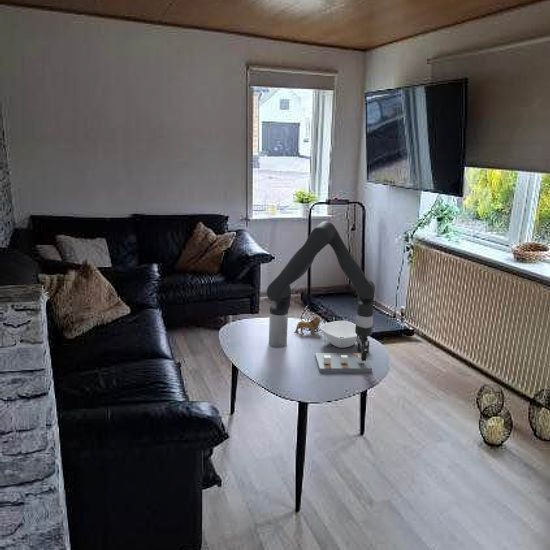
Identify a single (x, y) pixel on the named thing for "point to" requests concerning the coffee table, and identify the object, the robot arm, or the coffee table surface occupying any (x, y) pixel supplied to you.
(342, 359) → the switch
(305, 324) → the lion figurine
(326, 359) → the switch
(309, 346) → the coffee table surface
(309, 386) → the coffee table surface
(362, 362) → the switch
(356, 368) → the switch unit
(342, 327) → the bowl
